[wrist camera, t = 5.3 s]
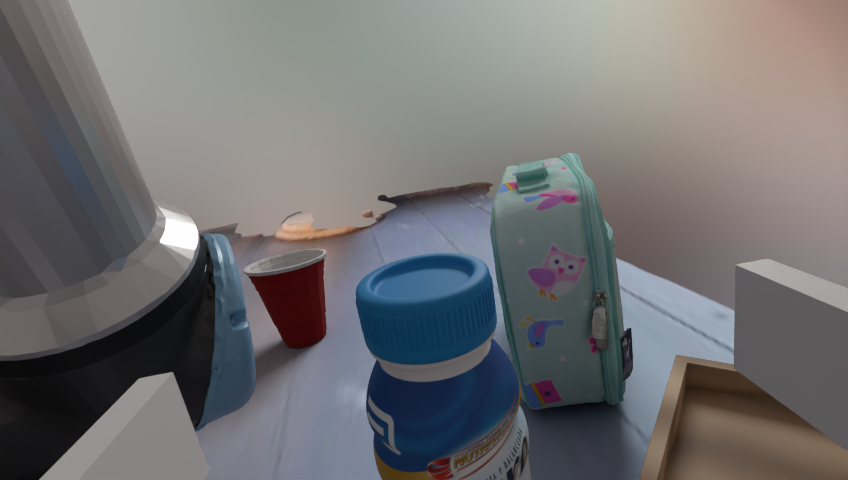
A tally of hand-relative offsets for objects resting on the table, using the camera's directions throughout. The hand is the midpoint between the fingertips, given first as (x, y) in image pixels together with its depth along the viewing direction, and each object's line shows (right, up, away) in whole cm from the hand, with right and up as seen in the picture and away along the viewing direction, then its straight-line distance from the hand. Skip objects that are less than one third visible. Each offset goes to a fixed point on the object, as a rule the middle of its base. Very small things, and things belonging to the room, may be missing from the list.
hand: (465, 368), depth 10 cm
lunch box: (+14, -9, +38) cm, 42 cm away
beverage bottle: (+2, -18, +17) cm, 25 cm away
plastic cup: (-17, -11, +52) cm, 56 cm away
